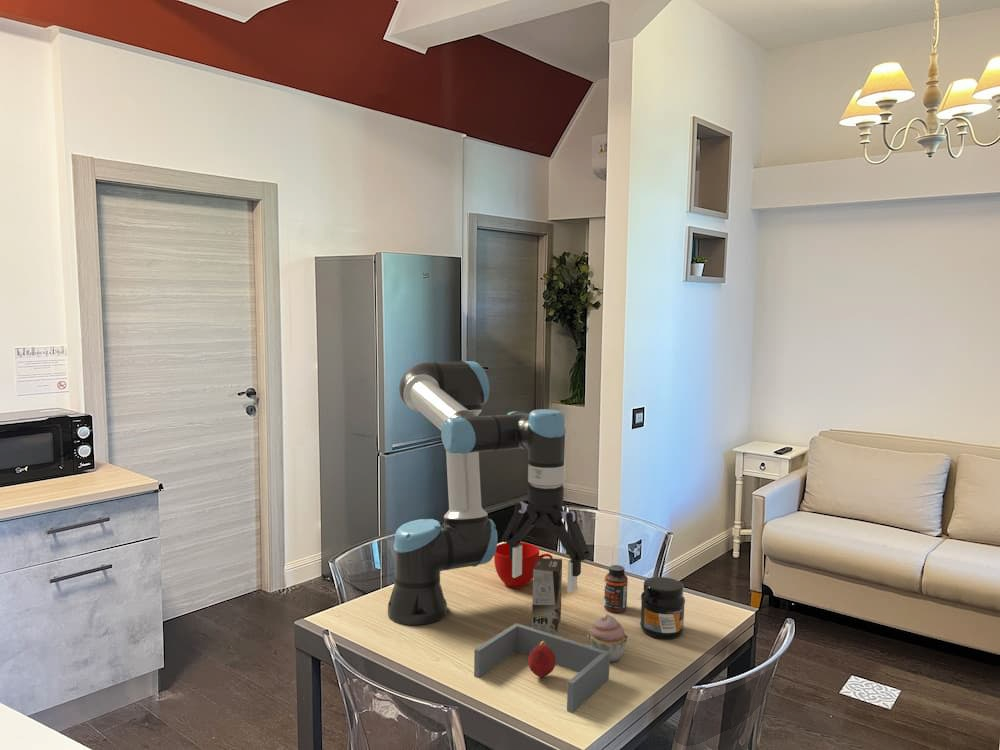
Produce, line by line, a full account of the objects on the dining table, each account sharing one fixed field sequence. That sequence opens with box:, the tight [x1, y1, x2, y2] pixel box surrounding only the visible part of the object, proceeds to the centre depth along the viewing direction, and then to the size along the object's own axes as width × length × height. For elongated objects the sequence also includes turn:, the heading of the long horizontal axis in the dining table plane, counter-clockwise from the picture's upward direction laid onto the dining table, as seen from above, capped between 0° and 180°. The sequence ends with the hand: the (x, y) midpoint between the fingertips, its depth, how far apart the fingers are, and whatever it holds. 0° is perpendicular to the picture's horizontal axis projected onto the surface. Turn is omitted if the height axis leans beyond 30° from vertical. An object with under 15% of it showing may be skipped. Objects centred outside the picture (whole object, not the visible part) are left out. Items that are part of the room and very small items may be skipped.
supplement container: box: [639, 576, 686, 640], centre depth 180 cm, size 10×10×12 cm
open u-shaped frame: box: [473, 622, 610, 714], centre depth 156 cm, size 24×16×6 cm, turn 55°
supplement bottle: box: [603, 564, 629, 614], centre depth 192 cm, size 6×6×11 cm
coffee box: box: [531, 557, 563, 636], centre depth 181 cm, size 9×6×16 cm
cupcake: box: [586, 613, 629, 663], centre depth 166 cm, size 9×9×10 cm
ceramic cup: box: [493, 542, 554, 589], centre depth 209 cm, size 13×17×10 cm
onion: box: [527, 641, 556, 679], centre depth 156 cm, size 6×6×8 cm
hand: (543, 583), depth 155 cm, fingers open, 13 cm apart
